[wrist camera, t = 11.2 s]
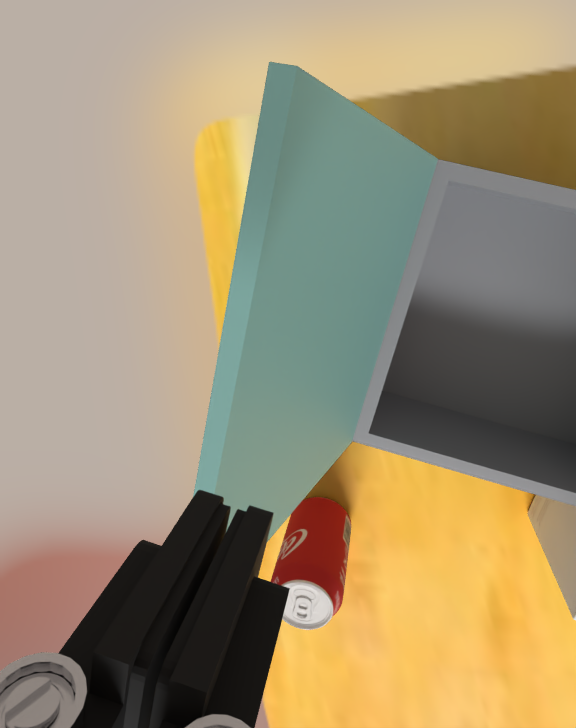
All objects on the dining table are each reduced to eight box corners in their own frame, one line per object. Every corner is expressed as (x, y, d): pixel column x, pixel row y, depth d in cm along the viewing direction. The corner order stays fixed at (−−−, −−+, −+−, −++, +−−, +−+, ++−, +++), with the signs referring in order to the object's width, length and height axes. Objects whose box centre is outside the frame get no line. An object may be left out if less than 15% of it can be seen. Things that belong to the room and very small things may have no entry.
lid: (297, 65, 12) (268, 61, 12) (186, 636, 19) (170, 626, 20) (438, 158, 29) (425, 156, 30) (351, 442, 37) (341, 438, 37)
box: (691, 226, 37) (792, 238, 27) (577, 451, 44) (626, 521, 35) (426, 166, 39) (437, 159, 30) (359, 390, 46) (351, 441, 37)
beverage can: (295, 486, 51) (268, 568, 40) (355, 497, 50) (345, 585, 39) (289, 535, 53) (263, 626, 42) (347, 547, 52) (336, 643, 41)
